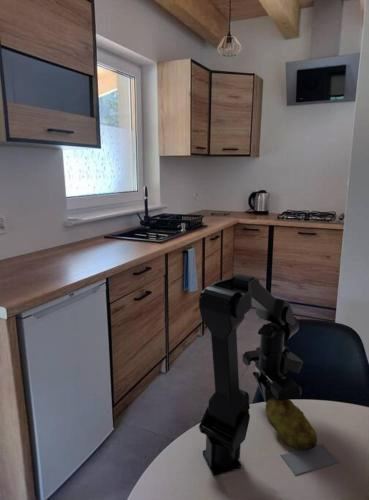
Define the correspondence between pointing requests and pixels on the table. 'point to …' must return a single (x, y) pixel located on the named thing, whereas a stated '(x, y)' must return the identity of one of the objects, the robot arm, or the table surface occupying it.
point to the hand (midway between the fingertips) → (267, 402)
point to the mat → (309, 459)
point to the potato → (291, 424)
